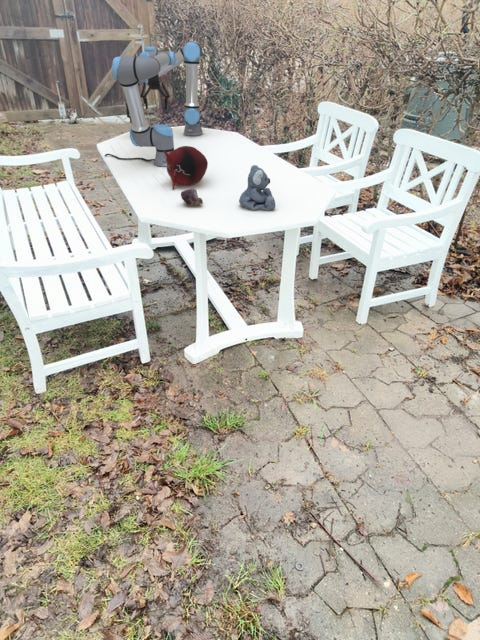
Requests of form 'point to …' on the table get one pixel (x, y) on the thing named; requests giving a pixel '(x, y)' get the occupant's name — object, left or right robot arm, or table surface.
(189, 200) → the rock
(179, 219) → the table surface
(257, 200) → the koala plush
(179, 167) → the dark red rounded piece
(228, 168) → the table surface
